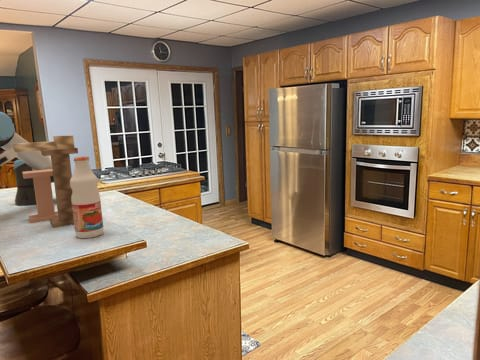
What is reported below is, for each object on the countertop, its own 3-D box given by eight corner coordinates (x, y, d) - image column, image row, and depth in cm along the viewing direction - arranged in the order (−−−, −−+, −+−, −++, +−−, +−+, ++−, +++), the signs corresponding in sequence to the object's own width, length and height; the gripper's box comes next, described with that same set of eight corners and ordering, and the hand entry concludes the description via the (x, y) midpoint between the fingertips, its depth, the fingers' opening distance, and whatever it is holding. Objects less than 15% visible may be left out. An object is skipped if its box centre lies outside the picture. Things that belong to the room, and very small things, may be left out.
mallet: (70, 147, 148) (69, 135, 147) (74, 148, 142) (73, 135, 141) (13, 151, 136) (11, 138, 136) (15, 152, 131) (13, 138, 130)
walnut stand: (81, 217, 154) (73, 147, 149) (85, 222, 147) (77, 148, 142) (50, 222, 148) (40, 149, 143) (53, 227, 140) (43, 150, 135)
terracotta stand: (62, 213, 162) (56, 168, 158) (64, 217, 155) (59, 170, 152) (28, 219, 155) (22, 171, 151) (30, 223, 148) (23, 173, 145)
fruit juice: (89, 229, 136) (81, 155, 131) (109, 231, 133) (101, 155, 128) (69, 237, 127) (60, 158, 123) (90, 239, 124) (81, 158, 119)
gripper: (-31, 189, 138) (21, 157, 146) (-37, 200, 117) (23, 162, 125) (-47, 173, 135) (7, 141, 143) (-56, 182, 114) (8, 144, 122)
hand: (15, 151), depth 134 cm, fingers open, 13 cm apart
